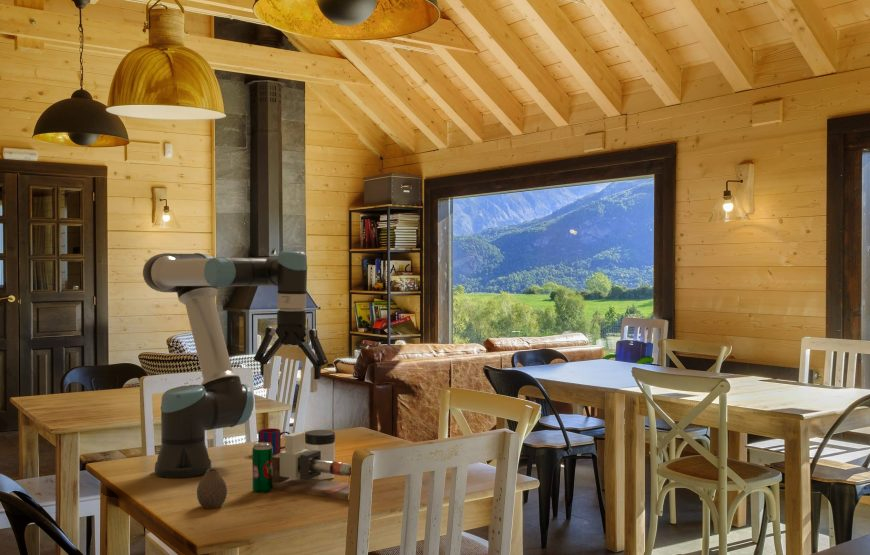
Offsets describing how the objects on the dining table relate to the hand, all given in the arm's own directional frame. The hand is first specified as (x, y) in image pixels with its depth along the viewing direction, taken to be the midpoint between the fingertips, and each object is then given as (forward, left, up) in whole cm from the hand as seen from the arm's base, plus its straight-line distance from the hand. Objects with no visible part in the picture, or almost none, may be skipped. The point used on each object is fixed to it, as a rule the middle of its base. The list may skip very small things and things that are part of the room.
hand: (290, 389), depth 225 cm
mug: (-26, +27, -25) cm, 45 cm away
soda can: (-1, -10, -25) cm, 27 cm away
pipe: (+11, -3, -20) cm, 23 cm away
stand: (+11, -3, -25) cm, 27 cm away
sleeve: (+3, -3, -22) cm, 22 cm away
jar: (+3, +9, -25) cm, 26 cm away
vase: (-3, -27, -25) cm, 37 cm away
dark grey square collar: (+8, -3, -22) cm, 23 cm away
